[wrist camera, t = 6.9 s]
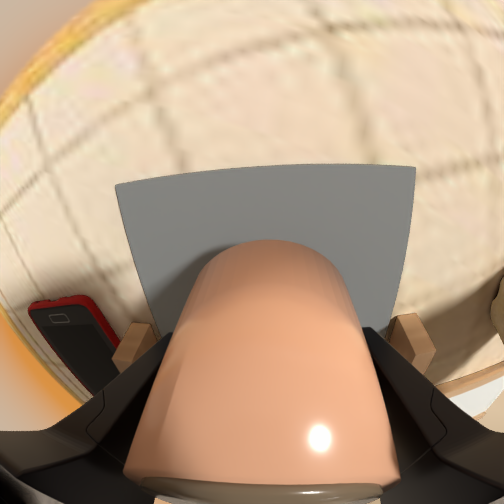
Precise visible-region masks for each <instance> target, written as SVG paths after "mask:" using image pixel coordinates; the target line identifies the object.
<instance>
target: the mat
mask: <svg viewBox="0 0 504 504" xmlns="http://www.w3.org/2000/svg"><path fill="white" fill-rule="evenodd" d="M415 176H416V168H415V167H410V166H395V165H373V164H295V165H272V166H256V167H242V168H230V169H220V170H210V171H201V172H192V173H185V174H177V175H170V176H163V177H156V178H150V179H144V180H138V181H132V182H127V183H121V184H117V185H115V188H116V193H117V197H118V201H119V206H120V210H121V214H122V218H123V222H124V226H125V230H126V234H127V237H128V241H129V245H130V248H131V251H132V255H133V258H134V262H135V265H136V268H137V271H138V274H139V277H140V280H141V283H142V286H143V289H144V292H145V295H146V298H147V301H148V304H149V306H150V309H151V312H152V315H153V317H154V320H155V322H156V325H157V328H158V330H159V333H160V335H161V338H162V337H163V336H165V335H166V334H167V333H168V332H174V330H175V328H176V325H177V323H178V320H179V318H180V316H181V313H182V311H183V308H184V306H185V304H186V301H187V299H188V297H189V294H190V292H191V290H192V287H193V285H194V283H195V281H196V279H197V277H198V275H199V273H200V272H201V270H202V269H203V268H204V266H205V265H206V264H207V263H208V262H209V261H210V260H211V259H213V258H214V257H215V256H217V255H218V254H220V253H221V252H223V251H225V250H227V249H229V248H231V247H233V246H236V245H239V244H241V243H246V242H250V241H256V240H284V241H290V242H294V243H298V244H301V245H304V246H306V247H309V248H311V249H313V250H315V251H317V252H318V253H320V254H322V255H323V256H324V257H326V258H327V259H328V260H329V261H331V263H332V264H333V265H334V266H335V267H336V268H337V269H338V271H339V272H340V274H341V275H342V277H343V279H344V281H345V284H346V286H347V289H348V291H349V294H350V297H351V299H352V302H353V305H354V308H355V310H356V313H357V316H358V319H359V322H360V325H361V327H371V328H373V329H374V330H375V331H376V332H377V333H378V334H379V335H380V336H382V337H383V338H385V335H386V332H387V329H388V325H389V322H390V318H391V315H392V311H393V308H394V304H395V300H396V296H397V292H398V288H399V284H400V279H401V275H402V270H403V265H404V260H405V255H406V249H407V244H408V237H409V231H410V224H411V217H412V209H413V200H414V189H415Z"/></svg>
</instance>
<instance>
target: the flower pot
mask: <svg viewBox="0 0 504 504" xmlns="http://www.w3.org/2000/svg"><path fill="white" fill-rule="evenodd" d="M491 320H492V322H493V324H494V326H495V328H496V330H497V332H498V334H499V336H500V338H501V340H502V342H503V344H504V277H503V278H502V280H501V282H500V289H499V292H498V295H497V297H496V298H495V299H494V300H493V301H492V305H491Z"/></svg>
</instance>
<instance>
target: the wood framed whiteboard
mask: <svg viewBox="0 0 504 504" xmlns="http://www.w3.org/2000/svg"><path fill="white" fill-rule="evenodd" d="M435 387H437V388H438V389H439V390H440V391H441V392H442V393H443V394H444V395H445V396H446V397H447V398H448V399H450V400H451V401H452V402H453V403H454V404H456V405H457V406H458V407H459V408H460V409H462V410H463V411H464V412H466V413H467V414H468V415H470V416H471V417H472V418H474V419H475V420H476V421H477V420H479V419H481V418H482V417H483V416H484V415H485V414H486V413H485V411H486V409H487V408H488V407H489V406H490V405H491V404H492V402H494V400H495V399H496V398H497V397H498V396H499V395H500V393H501V392H502V391H503V390H504V361H503V362H500V363H498V364H496V365H494V366H491V367H489V368H486V369H484V370H481V371H479V372H476V373H473V374H471V375H468V376H465V377H462V378H459V379H456V380H453V381H450V382H447V383H444V384H441V385H437V386H435Z"/></svg>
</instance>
